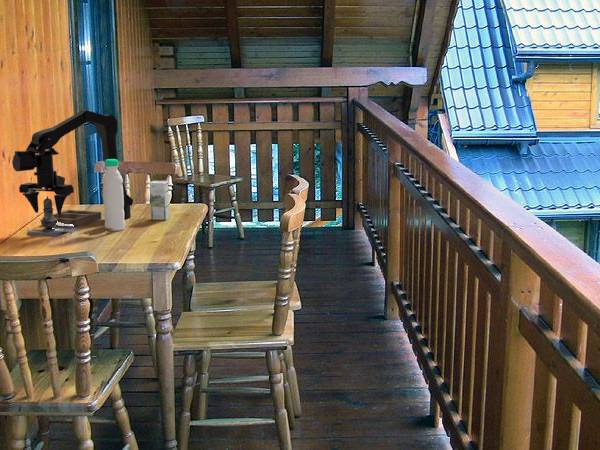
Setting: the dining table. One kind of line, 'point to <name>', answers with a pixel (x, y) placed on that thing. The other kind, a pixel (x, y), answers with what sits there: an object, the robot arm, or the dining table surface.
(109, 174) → the white bottle
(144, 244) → the dining table surface
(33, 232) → the slate pad
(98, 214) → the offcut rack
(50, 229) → the grey turned upright piece
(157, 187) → the syrup box
